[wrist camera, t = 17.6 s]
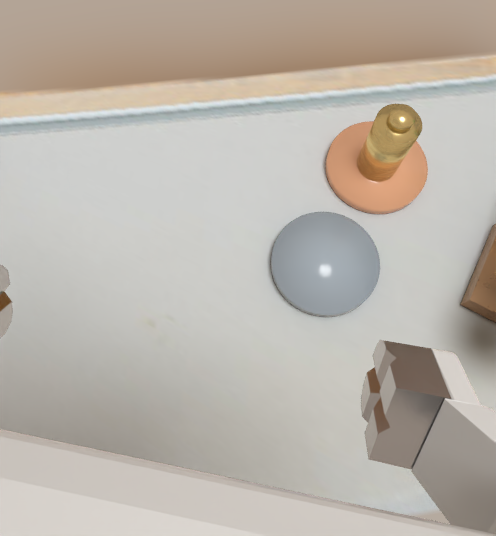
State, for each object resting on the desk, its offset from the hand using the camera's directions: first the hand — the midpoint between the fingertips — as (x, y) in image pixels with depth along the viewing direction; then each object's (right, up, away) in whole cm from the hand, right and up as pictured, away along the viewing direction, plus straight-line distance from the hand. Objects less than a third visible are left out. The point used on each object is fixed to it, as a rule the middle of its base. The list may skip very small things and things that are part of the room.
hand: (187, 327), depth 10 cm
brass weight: (+15, +13, +39) cm, 44 cm away
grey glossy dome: (+9, +2, +37) cm, 38 cm away
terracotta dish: (+15, +12, +41) cm, 45 cm away
